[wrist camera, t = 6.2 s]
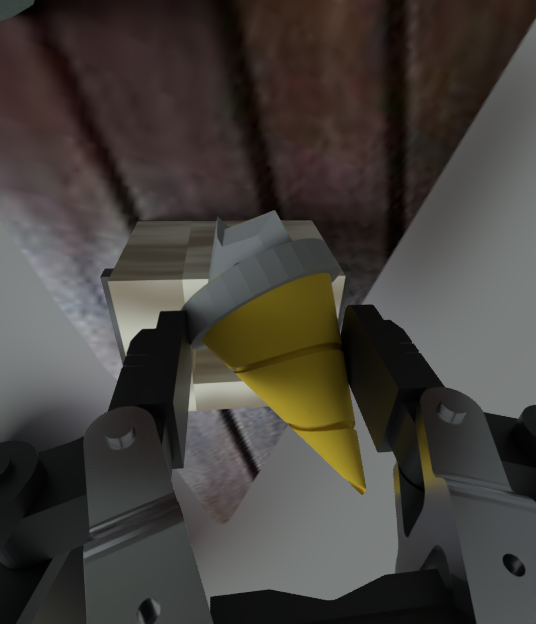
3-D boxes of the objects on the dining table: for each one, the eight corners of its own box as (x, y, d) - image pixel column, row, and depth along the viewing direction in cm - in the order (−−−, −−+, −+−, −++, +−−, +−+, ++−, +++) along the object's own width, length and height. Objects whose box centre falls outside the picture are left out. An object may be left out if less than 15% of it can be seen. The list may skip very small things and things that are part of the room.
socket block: (131, 221, 32) (97, 281, 23) (318, 220, 34) (353, 275, 25) (152, 335, 40) (132, 414, 31) (305, 329, 42) (329, 402, 33)
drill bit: (314, 161, 12) (481, 435, 10) (240, 249, 16) (352, 459, 14) (174, 153, 9) (390, 565, 7) (123, 268, 13) (251, 551, 11)
